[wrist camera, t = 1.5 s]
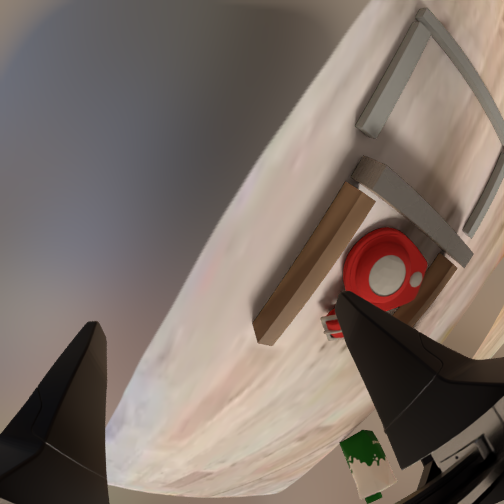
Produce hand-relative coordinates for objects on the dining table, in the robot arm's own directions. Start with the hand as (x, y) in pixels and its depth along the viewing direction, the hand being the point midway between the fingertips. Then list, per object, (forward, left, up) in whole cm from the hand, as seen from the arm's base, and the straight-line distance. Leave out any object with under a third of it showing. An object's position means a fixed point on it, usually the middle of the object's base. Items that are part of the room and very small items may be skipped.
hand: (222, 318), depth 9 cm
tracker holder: (-17, 0, -12) cm, 20 cm away
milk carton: (-57, +40, -11) cm, 70 cm away
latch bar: (-18, -8, -11) cm, 22 cm away
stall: (-18, +1, -11) cm, 21 cm away
